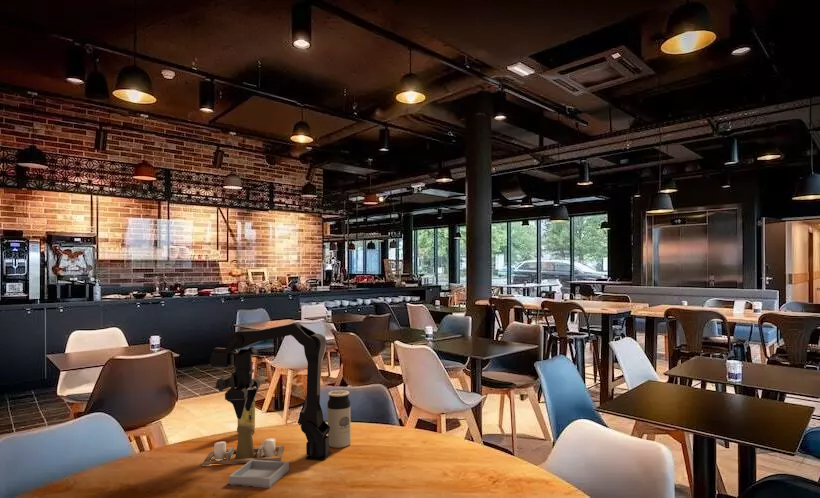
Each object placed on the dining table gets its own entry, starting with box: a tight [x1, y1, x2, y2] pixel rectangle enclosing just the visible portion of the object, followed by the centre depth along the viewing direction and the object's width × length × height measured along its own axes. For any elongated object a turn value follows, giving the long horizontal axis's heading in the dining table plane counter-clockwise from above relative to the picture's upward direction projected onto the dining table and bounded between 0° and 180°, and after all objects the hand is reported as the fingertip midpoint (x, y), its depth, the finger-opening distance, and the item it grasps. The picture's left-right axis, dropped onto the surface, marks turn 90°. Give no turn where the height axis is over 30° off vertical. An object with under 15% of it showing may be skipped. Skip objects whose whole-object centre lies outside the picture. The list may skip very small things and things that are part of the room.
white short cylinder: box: [213, 441, 227, 459], centre depth 160 cm, size 4×4×5 cm
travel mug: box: [327, 389, 352, 449], centre depth 173 cm, size 8×8×18 cm
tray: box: [228, 460, 290, 489], centre depth 145 cm, size 13×13×2 cm
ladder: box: [201, 443, 285, 465], centre depth 162 cm, size 24×12×2 cm, turn 99°
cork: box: [235, 422, 256, 459], centre depth 162 cm, size 6×6×11 cm
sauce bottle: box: [237, 399, 256, 435], centre depth 186 cm, size 7×6×20 cm
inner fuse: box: [263, 437, 276, 457], centre depth 163 cm, size 4×4×5 cm
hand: (243, 414), depth 164 cm, fingers open, 9 cm apart
